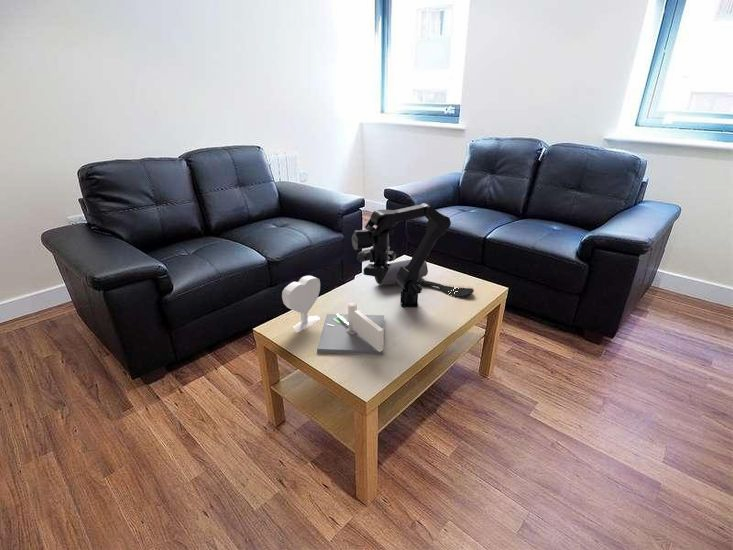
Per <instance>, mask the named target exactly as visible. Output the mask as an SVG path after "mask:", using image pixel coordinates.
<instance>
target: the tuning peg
mask: <svg viewBox="0 0 733 550" xmlns="http://www.w3.org/2000/svg"><path fill="white" fill-rule="evenodd" d="M357 305H358V304H357V303H355V302H349V303H348V304H347V314H348V322H347V321H345V320H344V319H343V318H342V317H341V316H340V315H338V314H339V313H336V314H337V315H336V316H337V317H338V318H339V319H340V320H342V321H343V322H344V323H345V324H346V325H347V326H349V331H351V332H354V331H355V332H357V333H358V334H359V335H360V336H361V337H362V338H363V339H365V340H366V341H367V342H368V343H369V344H370V345H372V346H373V347H374V348H375V349H376V350H377V351H379V352H381V351H383V352H384V346H383V336H384V335H385V329H384V330H383V329H382V328H381V327H380V326H378V325H377V324H376V323H374V322H373V321H372V320H371V319H369V318H368V317H367V316H365V315H366V314H364V313H363V312H362V311H361V310H359V309H358V307H357Z"/></svg>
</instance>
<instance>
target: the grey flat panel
mask: <svg viewBox="0 0 733 550" xmlns="http://www.w3.org/2000/svg"><path fill="white" fill-rule="evenodd" d="M337 314H338V315H340V316H341V317H342V318H343V319H344V320H345V321H347V322H348V313H347V314H346V313H345V314H344V313H326V316H325V320H324V323H323V326H322V330H321V334H320V336H319V340H318V343H317V348H316V352H317V353H320V354H321V353H322V354H325V353H326V354H352V355H353V354H354V355H355V354H356V355H357V354H359V355H384V350H383V351H381V352H379V351H377V350H376V349H375V348H374V347H373V346H372V345H370V344H369V343H368V342H367V341H366V340H365V339H363V338H362V337H361V336H360V335H359V334H358V333H357V332H355V331H354V332H351V331H349V326H347V325H346V324H345V323H344V322H343V321H342V320H340V319H339V318H338V317H337V316H336V315H337ZM364 315H365V316H367V317H368V318H369V319H371V320H372V321H373V322H374V323H376V324H377V325H378V326H380V327H381V328H382V329H383V330H384V331H385V315H384V314H364ZM384 340H385V338H384V336H383V347H384V346H385V345H384V343H385V342H384Z"/></svg>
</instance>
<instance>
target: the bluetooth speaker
mask: <svg viewBox="0 0 733 550" xmlns="http://www.w3.org/2000/svg"><path fill="white" fill-rule="evenodd" d="M410 261H411V259H406V260H401V261H395V262H394V261H393V262H389V263H388V264H391V266H390V267H389V269H388V271H387V273H386V275H385V277H384V279H383V281H382V283H381V284H379V283H378V280H377V277H374V279H375V282H376V283H377V285H379V286H386V285H390V286H397V285H398V286H399V284H398V283H397V280H396V277H397V275H396V274H397V273H398V272H399V270H400V267H401V266H403V267H406V266H407V265H408V264H409V263H410ZM428 270H429V269H428V263H427V261H426V260H425V262H424V263H423V265H422V267H421V269H420V271H419V279H421V278H424V277H426V276H427V275H428V273H429V271H428Z"/></svg>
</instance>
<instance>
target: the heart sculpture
mask: <svg viewBox="0 0 733 550" xmlns="http://www.w3.org/2000/svg"><path fill="white" fill-rule="evenodd" d="M320 291H321V281H320V278H317V277H315V276H313V275H304V276H302V277H301V278H300V279H299V280H298V281H292V282H290V283H289V284H288V285H286V286H285V287H284V289H283V290H282V292H281V299H282V303H283V304H284V305H285V307H286V308H288V309H290V310H291V311H294V312H298V313H300V320H301V322H300V321H299V322H297V323H298V324H297V323H296V325H295V324H294V325H295V326H294V325H292V326H293V328H294V329H295V330H296V331H301V330H303V329H304V330H306V329H308V328H309V327H311V326H312V325H314V324H315V323H317V322H319V321H320V320H321V317H320V316H318V315H315V316H310V315H309V316H308V314H309V312H310V310H311V309H312V307H313V306H314V304H315V303H316V301H317V300H318V298H319V294H320ZM318 320H319V321H318ZM313 323H314V324H313ZM308 326H309V327H308ZM305 328H306V329H305ZM304 330H303V331H304ZM301 332H302V331H301Z"/></svg>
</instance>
